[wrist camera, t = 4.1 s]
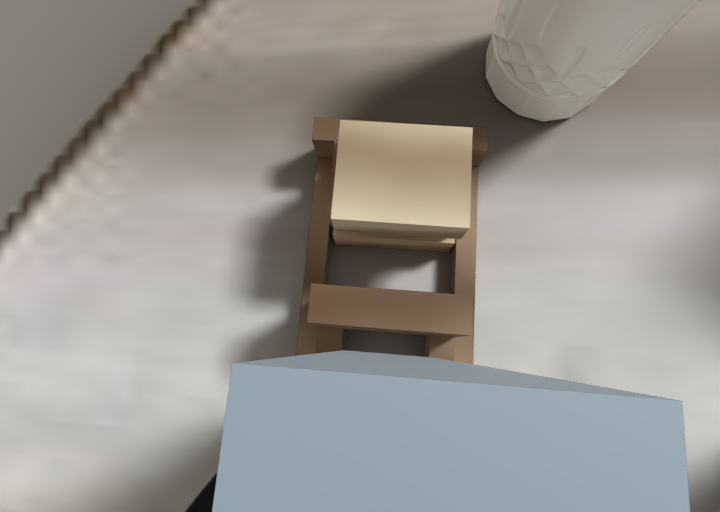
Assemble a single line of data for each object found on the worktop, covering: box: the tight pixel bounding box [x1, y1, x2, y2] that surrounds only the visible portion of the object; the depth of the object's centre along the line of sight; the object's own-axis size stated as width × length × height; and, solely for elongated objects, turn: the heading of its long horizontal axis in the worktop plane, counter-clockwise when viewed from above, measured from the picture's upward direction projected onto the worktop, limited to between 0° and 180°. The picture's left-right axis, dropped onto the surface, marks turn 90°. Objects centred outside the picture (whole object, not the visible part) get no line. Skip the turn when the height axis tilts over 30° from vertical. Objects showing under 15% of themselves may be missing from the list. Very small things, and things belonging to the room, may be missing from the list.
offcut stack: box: [327, 120, 473, 252], centre depth 21 cm, size 4×6×6 cm
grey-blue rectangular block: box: [212, 350, 690, 512], centre depth 9 cm, size 4×3×12 cm
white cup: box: [486, 0, 701, 122], centre depth 20 cm, size 8×8×10 cm
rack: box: [296, 117, 488, 364], centre depth 20 cm, size 16×9×5 cm, turn 175°
